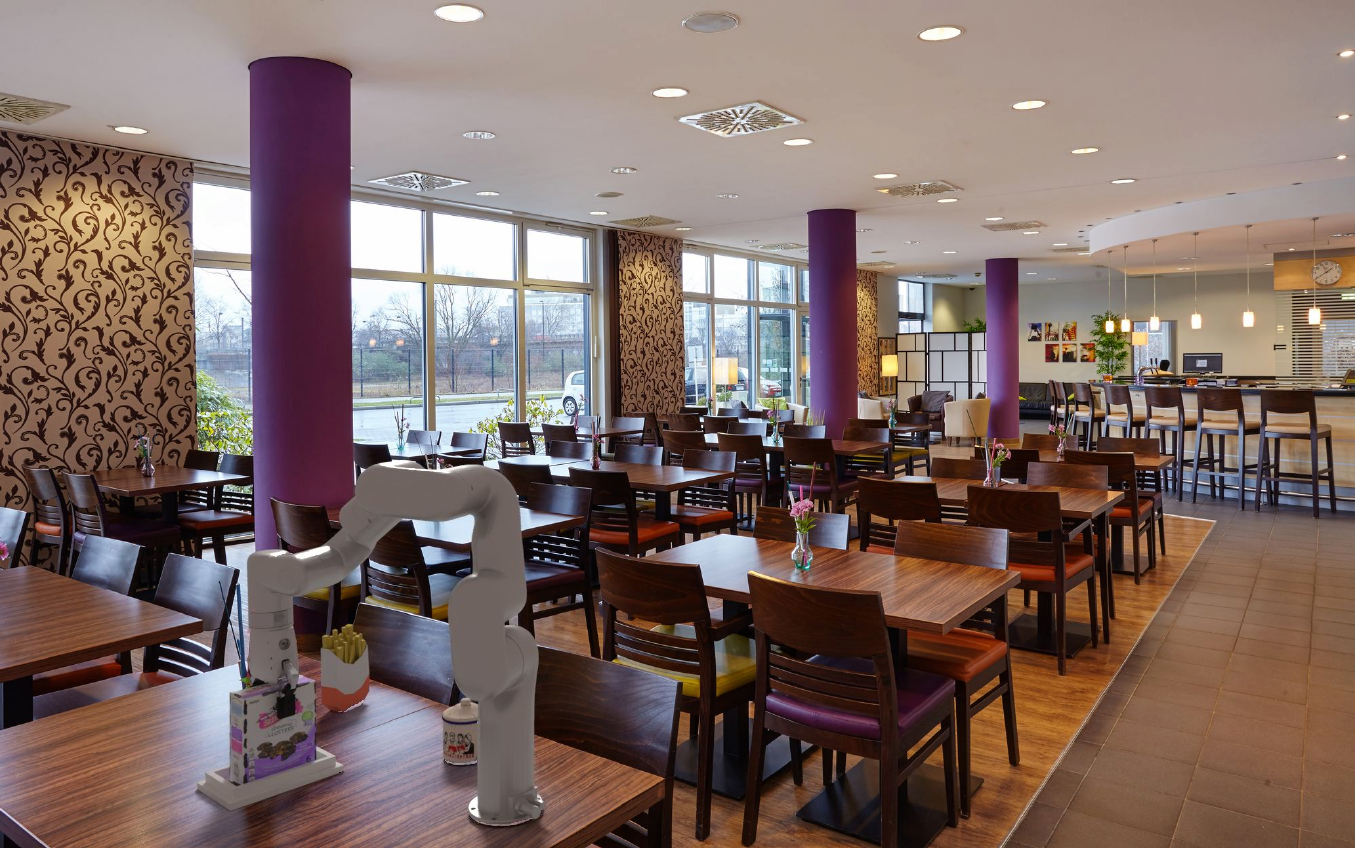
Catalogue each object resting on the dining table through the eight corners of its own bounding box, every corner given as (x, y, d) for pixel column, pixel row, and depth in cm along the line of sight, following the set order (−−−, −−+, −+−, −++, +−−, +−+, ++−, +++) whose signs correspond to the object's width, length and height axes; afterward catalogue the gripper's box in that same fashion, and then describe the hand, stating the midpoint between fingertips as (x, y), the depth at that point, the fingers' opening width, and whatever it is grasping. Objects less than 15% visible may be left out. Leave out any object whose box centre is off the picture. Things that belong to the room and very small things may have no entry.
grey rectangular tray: (343, 771, 171) (343, 755, 171) (230, 810, 155) (230, 793, 155) (308, 753, 179) (308, 738, 179) (197, 788, 163) (196, 772, 163)
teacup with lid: (433, 764, 175) (432, 704, 174) (456, 746, 183) (456, 689, 183) (490, 771, 172) (490, 710, 171) (510, 752, 180) (510, 694, 180)
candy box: (244, 791, 160) (243, 698, 159) (228, 781, 163) (227, 691, 163) (317, 765, 170) (317, 679, 170) (301, 757, 174) (300, 672, 173)
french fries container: (370, 701, 209) (370, 623, 208) (337, 717, 199) (337, 635, 198) (354, 698, 211) (354, 622, 210) (321, 714, 200) (320, 633, 200)
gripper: (314, 621, 163) (316, 715, 164) (268, 607, 174) (270, 695, 175) (273, 630, 157) (276, 727, 158) (228, 615, 169) (230, 706, 169)
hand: (273, 710), depth 167 cm, fingers open, 9 cm apart
